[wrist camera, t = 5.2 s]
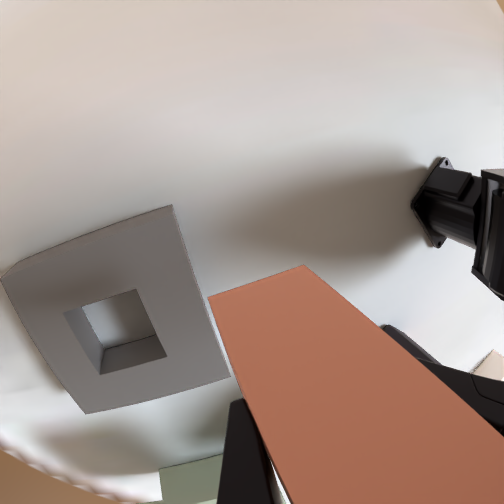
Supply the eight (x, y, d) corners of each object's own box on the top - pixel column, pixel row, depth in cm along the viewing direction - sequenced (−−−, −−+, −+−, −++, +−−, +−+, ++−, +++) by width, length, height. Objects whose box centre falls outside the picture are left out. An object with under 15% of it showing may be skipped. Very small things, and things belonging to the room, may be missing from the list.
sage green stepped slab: (238, 392, 25) (273, 482, 16) (261, 445, 29) (291, 515, 20) (117, 424, 23) (117, 513, 14) (161, 472, 27) (173, 543, 18)
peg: (303, 264, 11) (540, 472, 2) (314, 340, 12) (471, 526, 3) (207, 297, 10) (357, 616, 1) (233, 371, 12) (346, 604, 3)
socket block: (171, 204, 19) (173, 214, 16) (222, 352, 23) (230, 376, 20) (17, 262, 17) (0, 278, 14) (90, 389, 21) (85, 414, 18)
